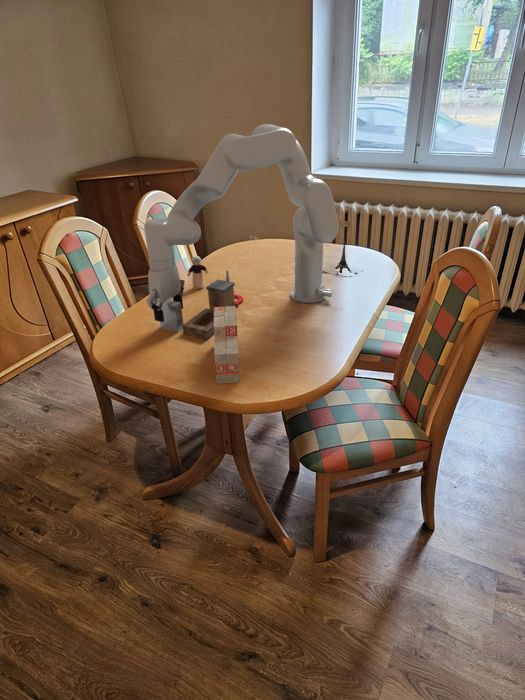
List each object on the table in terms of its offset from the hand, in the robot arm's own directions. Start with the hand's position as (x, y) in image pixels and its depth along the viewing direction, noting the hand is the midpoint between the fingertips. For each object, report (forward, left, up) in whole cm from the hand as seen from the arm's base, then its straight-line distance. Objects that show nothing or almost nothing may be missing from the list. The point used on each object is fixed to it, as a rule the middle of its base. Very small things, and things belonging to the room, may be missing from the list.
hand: (169, 314), depth 144 cm
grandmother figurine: (+10, -30, -5) cm, 32 cm away
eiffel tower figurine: (-33, -68, -6) cm, 76 cm away
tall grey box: (0, 0, -5) cm, 5 cm away
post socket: (-10, -8, -5) cm, 14 cm away
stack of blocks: (-27, +9, -5) cm, 28 cm away
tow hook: (-7, -25, -5) cm, 27 cm away
